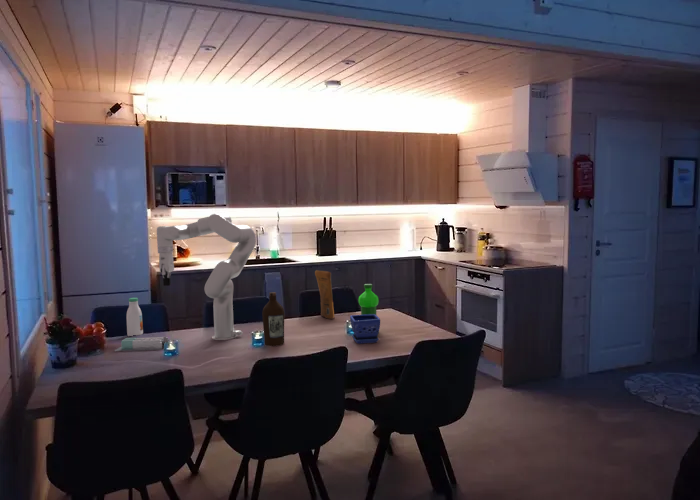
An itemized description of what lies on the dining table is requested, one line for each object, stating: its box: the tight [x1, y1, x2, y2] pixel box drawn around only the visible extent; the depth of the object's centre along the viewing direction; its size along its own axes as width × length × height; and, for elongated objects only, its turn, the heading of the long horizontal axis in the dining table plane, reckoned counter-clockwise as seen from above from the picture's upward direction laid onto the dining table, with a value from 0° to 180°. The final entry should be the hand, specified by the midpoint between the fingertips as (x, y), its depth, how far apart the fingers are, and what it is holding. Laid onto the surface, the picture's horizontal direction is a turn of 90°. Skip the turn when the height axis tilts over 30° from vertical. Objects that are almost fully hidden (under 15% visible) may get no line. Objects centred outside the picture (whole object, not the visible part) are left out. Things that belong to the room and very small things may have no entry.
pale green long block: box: [120, 336, 169, 350], centre depth 260 cm, size 21×4×5 cm, turn 92°
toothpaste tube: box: [123, 336, 164, 347], centre depth 264 cm, size 19×3×4 cm, turn 92°
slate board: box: [114, 338, 182, 352], centre depth 267 cm, size 26×20×1 cm
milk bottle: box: [126, 297, 144, 337], centre depth 292 cm, size 8×8×20 cm
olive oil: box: [261, 291, 285, 347], centre depth 265 cm, size 11×11×25 cm
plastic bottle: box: [357, 283, 379, 315], centre depth 285 cm, size 10×10×25 cm
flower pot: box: [349, 314, 381, 345], centre depth 266 cm, size 13×13×12 cm
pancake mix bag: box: [314, 269, 335, 320], centre depth 329 cm, size 7×19×28 cm, turn 25°
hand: (167, 285), depth 285 cm, fingers closed
